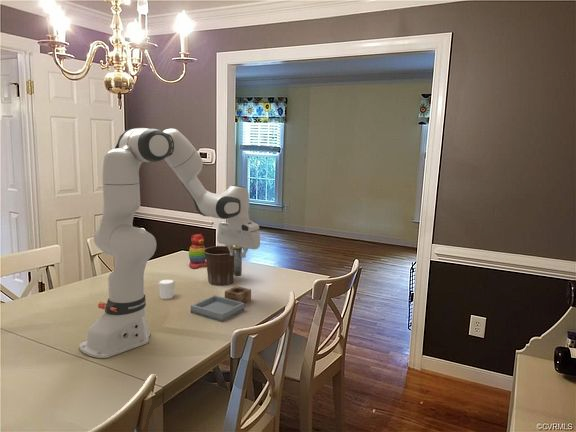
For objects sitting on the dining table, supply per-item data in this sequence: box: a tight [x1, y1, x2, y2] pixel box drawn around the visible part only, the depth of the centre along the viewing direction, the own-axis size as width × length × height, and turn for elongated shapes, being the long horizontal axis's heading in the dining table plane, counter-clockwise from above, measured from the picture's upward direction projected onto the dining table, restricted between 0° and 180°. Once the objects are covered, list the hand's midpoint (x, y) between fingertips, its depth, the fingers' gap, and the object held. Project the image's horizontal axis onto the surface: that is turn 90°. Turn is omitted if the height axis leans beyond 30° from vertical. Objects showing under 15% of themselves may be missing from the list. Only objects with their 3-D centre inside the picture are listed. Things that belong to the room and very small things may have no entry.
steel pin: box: [233, 245, 243, 277], centre depth 172 cm, size 5×5×13 cm
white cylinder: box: [157, 278, 175, 300], centre depth 178 cm, size 7×7×7 cm
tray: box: [190, 294, 246, 323], centre depth 164 cm, size 14×16×3 cm
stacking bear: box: [188, 233, 207, 270], centre depth 225 cm, size 11×10×18 cm
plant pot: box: [204, 245, 235, 286], centre depth 199 cm, size 16×16×16 cm
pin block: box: [224, 285, 252, 304], centre depth 175 cm, size 8×8×5 cm
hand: (237, 256), depth 172 cm, fingers closed on steel pin, 4 cm apart
